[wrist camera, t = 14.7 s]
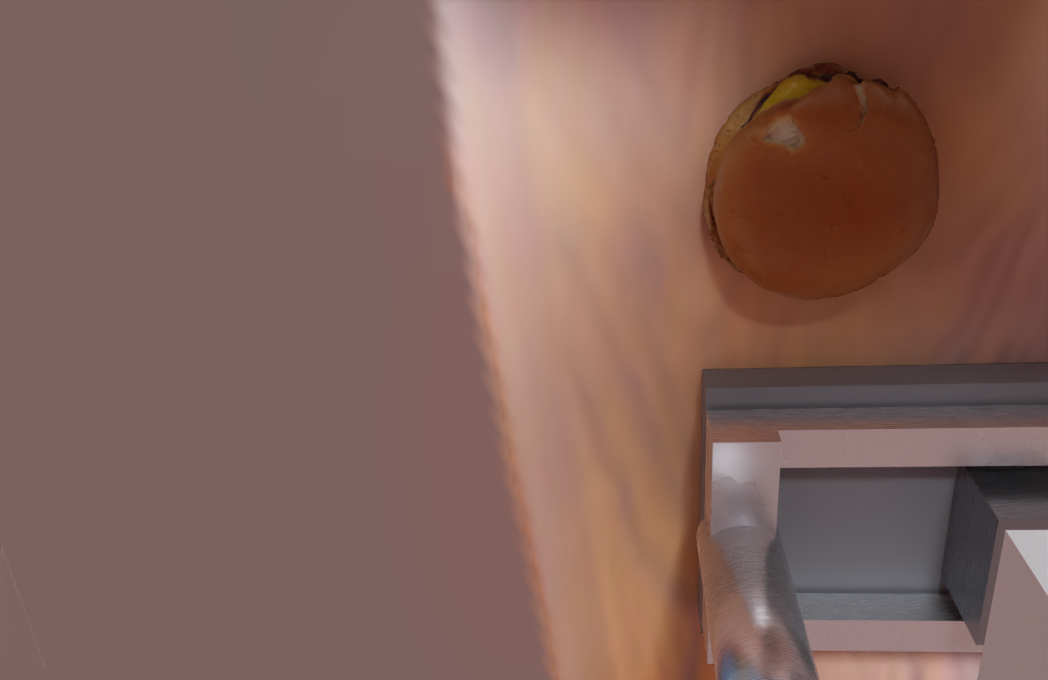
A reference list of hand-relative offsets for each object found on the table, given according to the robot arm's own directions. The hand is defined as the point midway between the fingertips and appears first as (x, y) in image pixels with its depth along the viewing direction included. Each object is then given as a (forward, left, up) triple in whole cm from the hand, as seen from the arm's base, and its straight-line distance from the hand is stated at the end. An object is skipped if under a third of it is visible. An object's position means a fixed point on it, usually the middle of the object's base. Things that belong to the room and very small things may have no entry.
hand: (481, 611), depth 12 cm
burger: (+3, +10, -32) cm, 34 cm away
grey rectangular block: (+20, +20, -30) cm, 41 cm away
